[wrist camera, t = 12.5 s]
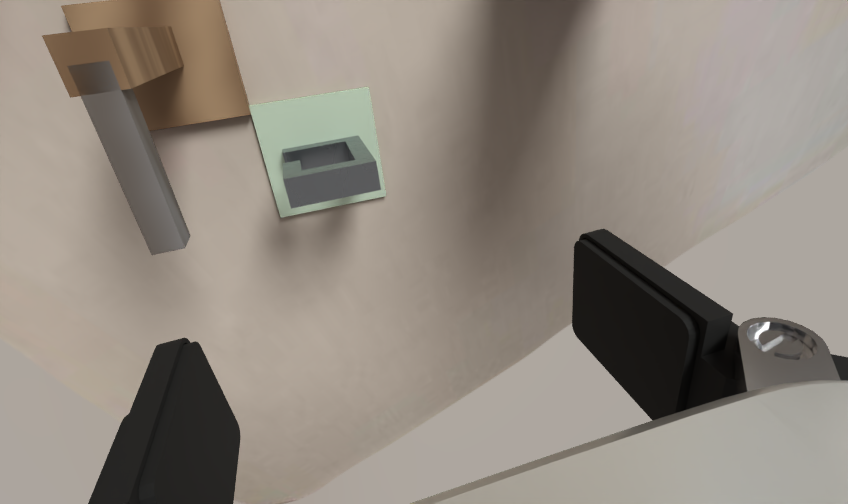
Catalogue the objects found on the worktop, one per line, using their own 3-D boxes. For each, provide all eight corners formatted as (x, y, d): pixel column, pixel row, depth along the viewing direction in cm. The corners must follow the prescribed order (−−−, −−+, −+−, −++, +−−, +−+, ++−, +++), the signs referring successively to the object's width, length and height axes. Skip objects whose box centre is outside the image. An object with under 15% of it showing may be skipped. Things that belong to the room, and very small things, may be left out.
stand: (216, -11, 31) (175, -32, 19) (266, 164, 36) (258, 232, 24) (67, 6, 29) (-83, -6, 17) (143, 186, 34) (71, 271, 23)
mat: (368, 86, 36) (368, 87, 35) (385, 194, 40) (386, 196, 40) (249, 105, 34) (248, 106, 34) (280, 216, 38) (280, 217, 38)
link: (358, 135, 37) (376, 160, 30) (362, 159, 38) (381, 189, 31) (282, 149, 36) (283, 179, 29) (289, 173, 37) (291, 208, 30)
